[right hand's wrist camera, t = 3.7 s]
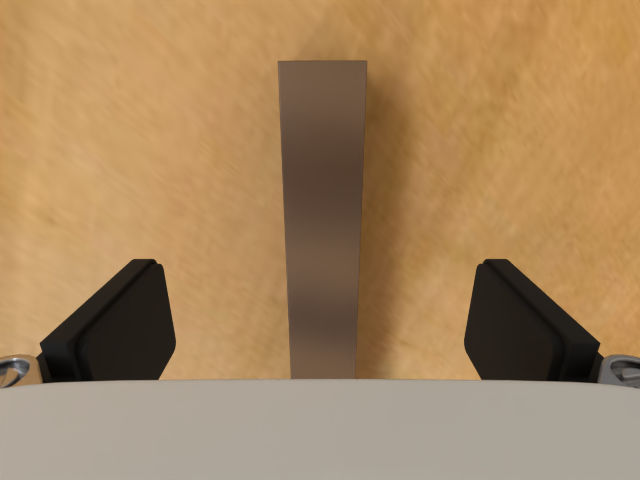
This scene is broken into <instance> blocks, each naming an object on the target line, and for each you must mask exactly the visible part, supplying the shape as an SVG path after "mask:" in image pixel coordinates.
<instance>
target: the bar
mask: <svg viewBox="0 0 640 480" xmlns="http://www.w3.org/2000/svg"><path fill="white" fill-rule="evenodd" d="M278 77H279V101H280V125H281V149H282V173H283V197H284V221H285V245H286V269H287V293H288V317H289V341H290V365H291V379H355V367H356V340H357V314H358V288H359V262H360V236H361V210H362V184H363V158H364V132H365V106H366V80H367V61H278Z"/></svg>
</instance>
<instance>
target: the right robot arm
mask: <svg viewBox="0 0 640 480" xmlns="http://www.w3.org/2000/svg"><path fill="white" fill-rule="evenodd" d="M40 346H41V349H42V353H41V354H39V355H38V356H37V357H36V358H35V357H33V356H30V355H20V354H19V355H11V356H6V357H2V358H0V480H640V358H638V357H634V356H629V355H621V354H620V355H610V356H607V357H605V358H604V357H603V356H602V355H601V354H599V353H598V349H599V346H600V342H598V341H597V340H596V339H595V338H594V337H593V336H592V335H591V334H590V333H588V332H587V331H586V330H585V329H584V328H583V327H582V326H581V325H580V324H578V323H577V322H576V321H575V320H574V319H573V318H572V317H571V316H570V315H568V314H567V313H566V312H565V311H564V310H563V309H562V308H561V307H560V306H558V305H557V304H556V303H555V302H554V301H553V300H552V299H551V298H550V297H548V296H547V295H546V294H545V293H544V292H543V291H542V290H541V289H540V288H538V287H537V286H536V285H535V284H534V283H533V282H532V281H531V280H530V279H528V278H527V277H526V276H525V275H524V274H523V273H522V272H521V271H520V270H518V269H517V268H516V267H515V266H514V265H513V264H512V263H511V262H510V261H508V260H507V259H486V260H485V261H484V262H483V264H479V265H478V266H477V269H476V275H475V280H474V286H473V292H472V298H471V303H470V309H469V315H468V321H467V326H466V332H465V338H464V346H465V350H466V353H467V354H468V356H469V358H470V360H471V362H472V363H473V365H474V367H475V369H476V370H477V372H478V374H479V376H480V378H481V379H482V380H418V379H214V380H158V379H159V378H160V376H161V374H162V372H163V370H164V369H165V367H166V365H167V363H168V362H169V360H170V358H171V356H172V354H173V353H174V350H175V346H176V338H175V332H174V326H173V321H172V315H171V309H170V303H169V298H168V292H167V286H166V280H165V275H164V269H163V266H162V265H161V264H157V262H156V261H155V260H154V259H133V260H132V261H130V262H129V263H128V264H127V265H126V266H125V267H124V268H123V269H122V270H120V271H119V272H118V273H117V274H116V275H115V276H114V277H113V278H112V279H110V280H109V281H108V282H107V283H106V284H105V285H104V286H103V287H102V288H100V289H99V290H98V291H97V292H96V293H95V294H94V295H93V296H92V297H90V298H89V299H88V300H87V301H86V302H85V303H84V304H83V305H82V306H80V307H79V308H78V309H77V310H76V311H75V312H74V313H73V314H72V315H70V316H69V317H68V318H67V319H66V320H65V321H64V322H63V323H62V324H60V325H59V326H58V327H57V328H56V329H55V330H54V331H53V332H52V333H50V334H49V335H48V336H47V337H46V338H45V339H44V340H43V341H42V342H40Z"/></svg>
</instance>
